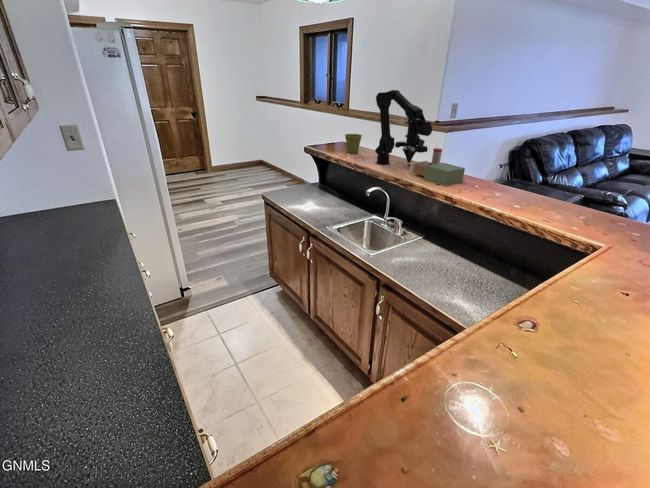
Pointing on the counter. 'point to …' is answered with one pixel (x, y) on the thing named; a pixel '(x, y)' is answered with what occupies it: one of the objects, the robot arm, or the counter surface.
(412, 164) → the drawer
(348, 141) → the plant pot
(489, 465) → the counter surface
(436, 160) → the canister
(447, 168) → the cabinet
